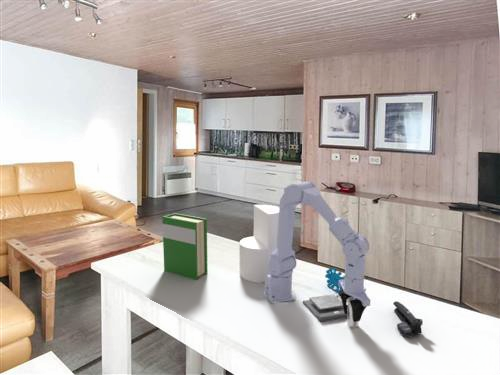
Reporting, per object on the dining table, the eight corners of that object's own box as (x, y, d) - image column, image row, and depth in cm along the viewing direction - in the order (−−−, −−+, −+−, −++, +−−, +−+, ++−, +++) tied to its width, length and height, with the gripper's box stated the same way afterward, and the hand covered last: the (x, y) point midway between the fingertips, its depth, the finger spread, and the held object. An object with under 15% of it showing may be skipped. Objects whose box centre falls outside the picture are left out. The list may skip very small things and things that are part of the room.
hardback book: (207, 273, 151) (206, 218, 147) (196, 280, 145) (195, 222, 141) (176, 265, 160) (174, 213, 156) (164, 270, 154) (162, 216, 150)
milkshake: (340, 321, 114) (342, 292, 113) (356, 321, 115) (358, 292, 113) (345, 329, 110) (347, 299, 108) (362, 329, 110) (364, 298, 109)
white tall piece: (271, 263, 162) (272, 203, 158) (287, 279, 146) (288, 212, 141) (234, 268, 157) (234, 206, 152) (246, 284, 141) (247, 215, 136)
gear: (335, 292, 131) (323, 268, 136) (325, 299, 134) (313, 275, 139) (354, 288, 138) (341, 265, 143) (343, 295, 141) (332, 272, 146)
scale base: (320, 322, 114) (320, 316, 114) (302, 302, 127) (302, 298, 126) (355, 316, 118) (356, 311, 118) (335, 298, 130) (335, 293, 130)
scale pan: (320, 310, 118) (320, 308, 118) (309, 299, 125) (309, 297, 125) (345, 306, 120) (345, 304, 120) (333, 295, 128) (333, 294, 128)
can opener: (426, 341, 105) (428, 324, 104) (402, 340, 105) (403, 322, 104) (406, 311, 122) (408, 295, 121) (385, 309, 123) (386, 294, 122)
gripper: (380, 284, 104) (377, 327, 106) (352, 265, 118) (350, 304, 120) (359, 287, 102) (356, 330, 104) (333, 268, 116) (331, 307, 118)
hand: (351, 316), depth 112 cm, fingers closed on milkshake, 4 cm apart
